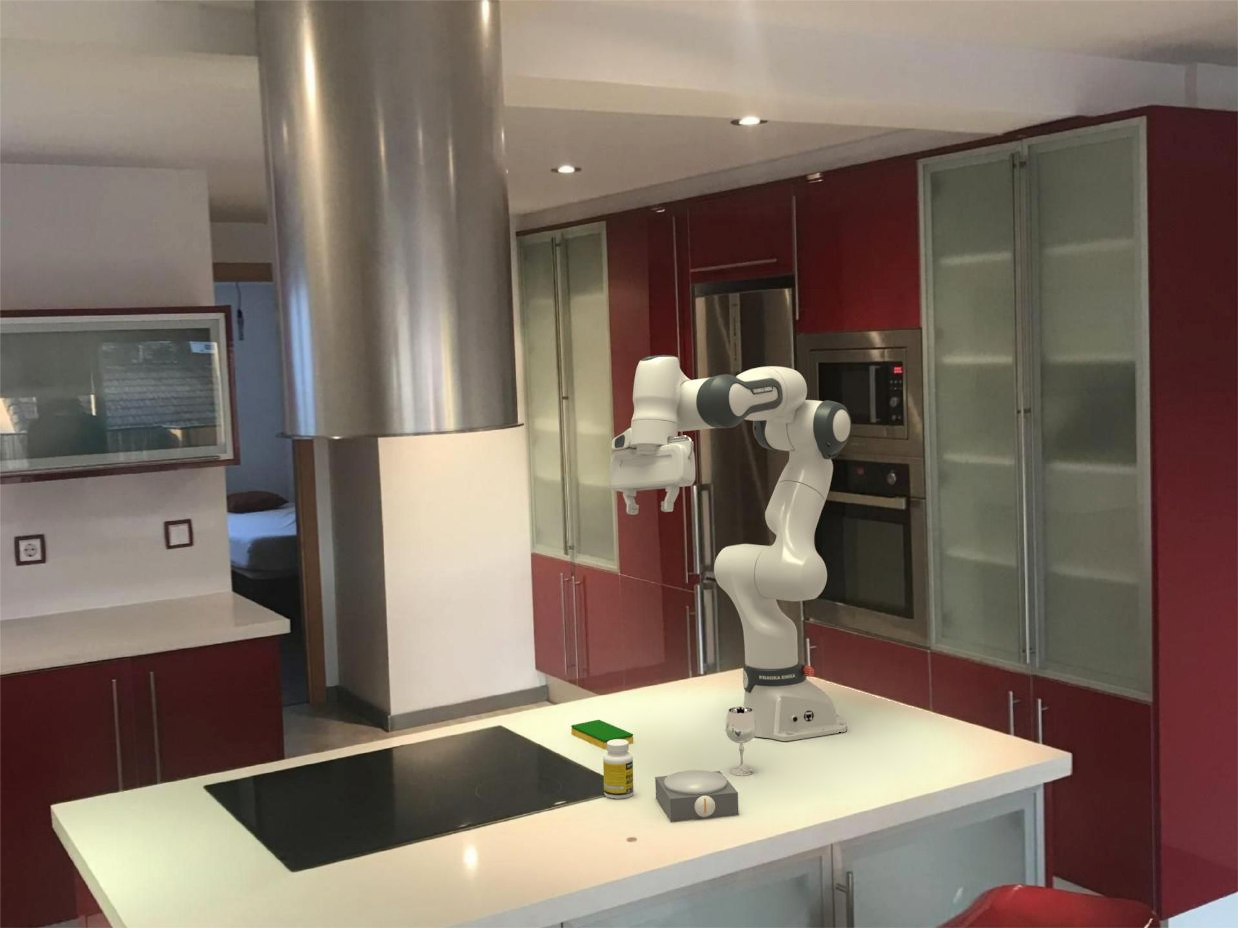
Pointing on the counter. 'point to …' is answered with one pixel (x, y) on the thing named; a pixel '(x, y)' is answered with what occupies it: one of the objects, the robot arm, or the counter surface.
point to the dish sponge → (600, 733)
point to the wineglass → (741, 732)
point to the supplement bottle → (618, 770)
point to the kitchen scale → (696, 795)
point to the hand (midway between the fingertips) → (649, 512)
